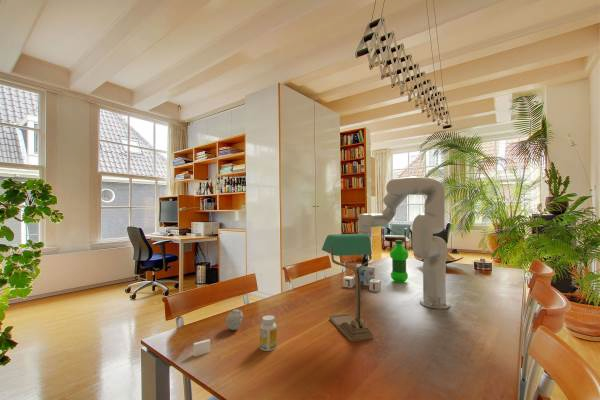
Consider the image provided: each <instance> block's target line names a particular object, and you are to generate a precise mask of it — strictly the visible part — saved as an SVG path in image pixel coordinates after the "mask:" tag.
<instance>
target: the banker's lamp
mask: <svg viewBox="0 0 600 400" xmlns="http://www.w3.org/2000/svg"><path fill="white" fill-rule="evenodd" d="M371 250H372V241H371V242H370V238H369V236H368V235H365V234H359V233H341V234H338V233H337V234H336V233H335V234H328V235H327V236H326V238H325V241H324V243H323V245H322V248H321V251H324V252H325V253H327V254H330V257H331V263H333V264H334V265H337V266H339V267H340V266H341V267H344V268H346V269H350V270H352V271H353V272H354V282H355V318H354V317H353V316H351V314H350V312H344V313H335V314H329V321H331V323H332V324H333V325H334V326H335V327H336V328H337V329H338V330H339V331H340V332H341V333H342V334H343V335H344V337H346V338H347V339H348V341H349V342H357V341H365V340H370V339H371V340H373V339H374V333H373V332H372V331H371V330H370V328H369V327H368V326H367V325H366V324H365V321H364V319H363V318H361V311H362V310H361V306H362V305H361V300H362V299H361V285H360V273H359V269H360V268H361V267H363V266H364V265H365V264H366V263H368V264H369V262H370V261H371V260H372V258H373V256H372V254H373V253H372V251H371ZM366 254H368V261H367V262H366V263H364V264H363V265H362V264H361V266H360V267H358V268H357V270H356V268H355V267H351V266H349V265H346V264H344V263H341V262H339V261H336V260H335V257H341V256H345V257H346V256H359V255H360V256H362V255H366ZM334 256H335V257H334Z"/></svg>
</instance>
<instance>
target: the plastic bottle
mask: <svg viewBox="0 0 600 400" xmlns="http://www.w3.org/2000/svg"><path fill="white" fill-rule="evenodd" d="M394 243H395V245H396V246H394V247H393V248H392V249H391V250H390V252H389V256H390V258H391V261H392V264H391V265H392V267H391V268H392V270H391V272H390V278H391V279H392V281H394V282H395V283H396V282H397V283H396V284H404V283H405V282H406V281H407V280H408V278H409V274H408V273H407V259H409V252H408V250H407V249H406V248H405V247H403V244H404V240H402V239H401V240H400V239H396V240H394Z"/></svg>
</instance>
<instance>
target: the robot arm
mask: <svg viewBox="0 0 600 400" xmlns="http://www.w3.org/2000/svg"><path fill="white" fill-rule="evenodd" d="M385 187H386V188H385V190H386V192H387V194H386V195H385V196H384V197H383V200H382V201H383V203H384V205H385V206H386V207H385V208H384V210H383V211H381V213H360V214H359V215H358V234H365V235H368V236H369V238H370V242H371V243H372V228H379V227H385V226H387V225H389V223H390V222H391V221H392V220H393V219H394V217H395V216H396V213H397V208H398V207H400V205H401V204H402V202H404V200H405V199H406V198H408V196H410V195H412V196H413V195H416V196H417V195H419V196H426V199H425V200H424V211H423V213H421V214H417V216H415V217H414V219H413V221H412V228H411V229H412V232H411V234H412V238H411V245H412V246H411V247H412V251H413V254H414V255H415V256H416V257H417V258H419V259H421V260H422V259H423V264H422V276H423V277H422V283H423V284H422V286H423V287H422V290H423V291H422V292H423V293H422V295H423V296H422V298H420V299H419V303H420V304H421V305H422V306H424V307H426V308H431V309H435V310H436V309H440V310H443V309H449V308H450V306H451V304H450V302H448V301H447V291H446V290H447V289H446V288H447V287H446V286H447V285H446V284H447V283H446V280H447V279H446V276H447V275H446V273H447V271H446V269H447V268H446V267H447V265H446V264H447V263H446V262H447V256H448V255H447V254H448V244H447V242H446V240H444V239H443V238H442V237H440V236H437V235H434V234H439V233H441V232H443V231H444V229H445V210H446V209H445V200H446V199H445V198H446V197H445V196H446V189H445V187H444V186H443V184H442V183H441V181H438V180H437V179H434V178H431V177H426V176H423V177H422V176H409V177H408V176H407V177H406V176H405V177H399V178H398V177H397V178H392V179H390V180H389V181H388V182H387V184H386V186H385ZM371 251H372V249H371ZM367 261H369V254H366V255H361V265H363V264H364V263H366V262H367ZM368 265H369V262H368V263H366V264H365V265H364V266H368Z"/></svg>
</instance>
